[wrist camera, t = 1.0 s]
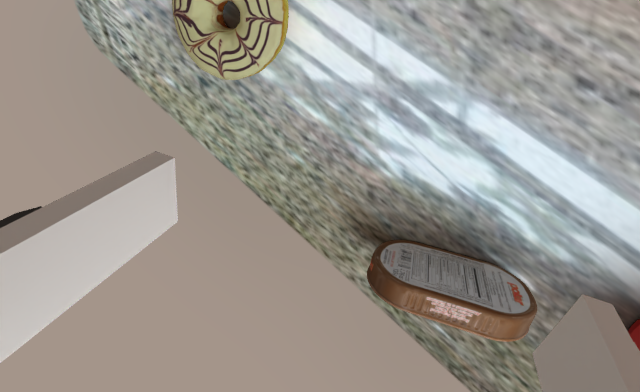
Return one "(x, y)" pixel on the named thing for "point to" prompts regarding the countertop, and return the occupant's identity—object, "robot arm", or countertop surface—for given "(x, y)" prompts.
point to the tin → (452, 289)
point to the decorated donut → (231, 35)
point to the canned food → (635, 333)
